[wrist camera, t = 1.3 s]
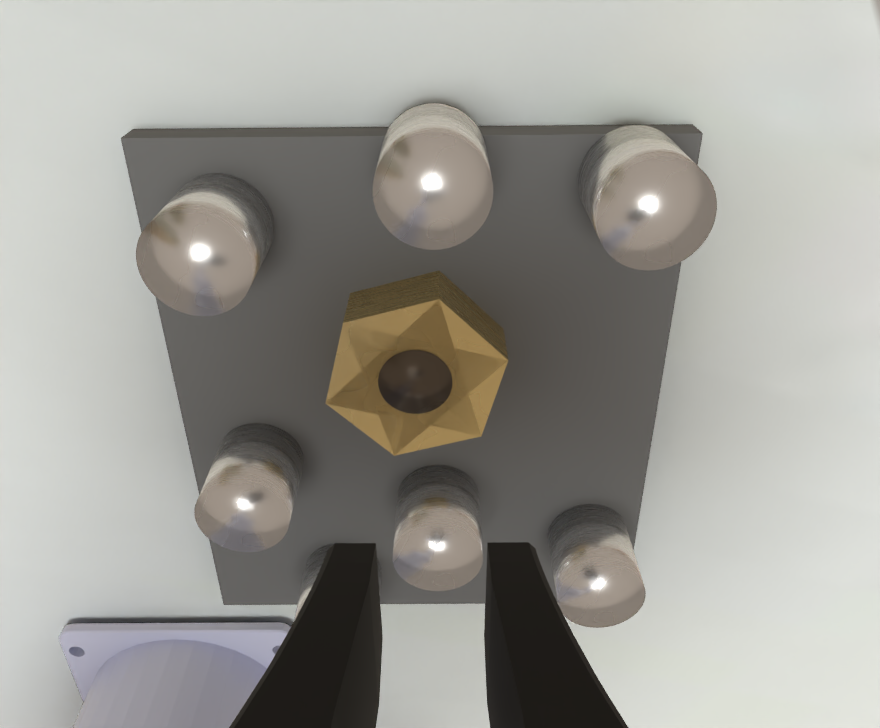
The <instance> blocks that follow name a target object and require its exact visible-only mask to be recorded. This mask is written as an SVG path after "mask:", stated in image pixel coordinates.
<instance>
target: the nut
mask: <svg viewBox="0 0 880 728" xmlns="http://www.w3.org/2000/svg"><path fill="white" fill-rule="evenodd" d="M507 363H508V355H507V348H506V342H505V335H504V329H503V328H502V327H501V326H500V325H499V324H498V323H497V322H496V321H495V320H493V319H492V318H491V317H490V316H489V315H488V314H487V313H486V312H485V311H483V310H482V309H481V308H480V307H479V306H478V305H477V304H476V303H475V302H474V301H472V300H471V299H470V298H469V297H468V296H467V295H466V294H465V293H464V292H463V291H461V290H460V289H459V288H458V287H457V286H456V285H455V284H454V283H453V282H451V281H450V280H449V279H448V278H447V277H446V276H445V275H444V274H443V273H442V272H440V271H435V272H431V273H427V274H423V275H419V276H415V277H411V278H408V279H404V280H400V281H396V282H392V283H388V284H384V285H380V286H376V287H372V288H368V289H364V290H360V291H357V292H353V293H350V295H349V300H348V304H347V308H346V313H345V317H344V321H343V326H342V330H341V335H340V339H339V344H338V348H337V353H336V358H335V362H334V367H333V371H332V376H331V380H330V385H329V390H328V394H327V399H326V404H327V405H328V406H330V407H331V408H332V409H333V410H335V411H336V412H337V413H339V414H340V415H341V416H343V417H344V418H345V419H347V420H348V421H349V422H351V423H352V424H353V425H355V426H356V427H357V428H358V429H360V430H361V431H362V432H364V433H365V434H366V435H368V436H369V437H370V438H372V439H373V440H374V441H376V442H377V443H378V444H379V445H381V446H382V447H383V448H385V449H386V450H387V451H389V452H390V453H391V454H393V455H394V456H395V455H400V454H404V453H409V452H413V451H418V450H422V449H427V448H431V447H436V446H440V445H445V444H449V443H454V442H458V441H463V440H467V439H472V438H476V437H481V436H482V433H483V430H484V428H485V425H486V422H487V419H488V416H489V413H490V411H491V408H492V405H493V402H494V399H495V397H496V394H497V391H498V388H499V385H500V382H501V380H502V377H503V374H504V371H505V368H506V365H507Z"/></svg>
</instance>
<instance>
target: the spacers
mask: <svg viewBox="0 0 880 728" xmlns="http://www.w3.org/2000/svg"><path fill="white" fill-rule="evenodd" d="M578 192H579V196H580V199H581V202H582V204H583V206H584V208H585V210H586V212H587V214H588V216H589V219H590V221H591V223H592V225H593V227H594V229H595V231H596V233H597V235H598V237H599V239H600V241H601V244H602V245H603V247H604V249H605V250H606V251H607V253H608V254H609V255H610V256H611V257H612V258H613V259H615V260H616V261H617V262H619V263H620V264H622V265H625V266H627V267H630V268H633V269H637V270H648V271H649V270H659V269H664V268H667V267H671V266H673V265H675V264H678V263H680V262H681V261H683V260H685V259H686V258H688V257H689V256H690V255H692V254H693V253H694V252H695V251H696V250H697V249H698V248H699V247H700V246H701V245H702V244H703V242H704V241H705V240H706V238H707V237H708V235H709V233H710V231H711V229H712V227H713V224H714V221H715V217H716V210H717V200H716V194H715V190H714V187H713V185H712V183H711V181H710V179H709V178H708V177H707V175H706V174H705V173H704V172H703V171H702V170H701V169H700V168H699V167H698V166H697V165H696V164H695V163H694V162H693V161H692V160H691V159H690V158H689V157H688V156H687V155H686V154H685V153H684V152H683V151H682V150H681V149H680V148H679V147H678V146H677V145H676V144H675V143H674V142H673V141H672V140H671V139H670V138H669V137H668V136H667V135H666V134H664V133H663V132H662V131H660V130H658V129H655V128H653V127H650V126H645V125H629V126H624V127H620V128H617V129H615V130H613V131H610V132H608V133H607V134H605V135H604V136H602V137H601V138H600V139H599V140H597V141H596V142H595V143H594V144H593V145H592V146H591V148H590V149H589V150H588V152H587V153H586V155H585V157H584V158H583V161H582V163H581V165H580V169H579V173H578ZM492 201H493V182H492V176H491V171H490V166H489V161H488V155H487V150H486V145H485V141H484V138H483V136H482V133H481V131H480V130H479V128H478V127H477V125H476V124H475V123H474V121H473V120H472V119H471V118H470V117H469V116H467V115H466V114H465V113H463V112H462V111H460V110H458V109H456V108H454V107H452V106H449V105H444V104H437V103H430V104H423V105H419V106H416V107H413V108H411V109H409V110H407V111H405V112H404V113H403V114H401V115H400V116H399V117H398V118H397V119H396V120H395V121H394V122H393V123H392V124H391V126H390V127H389V129H388V130H387V132H386V135H385V137H384V140H383V143H382V147H381V151H380V155H379V159H378V163H377V167H376V172H375V176H374V180H373V202H374V205H375V209H376V212H377V214H378V216H379V218H380V220H381V222H382V223H383V224H384V226H385V227H386V228H387V230H388V231H389V232H390V233H391V234H392V235H394V236H395V237H396V238H397V239H399V240H401V241H402V242H404V243H406V244H408V245H410V246H413V247H417V248H421V249H427V250H439V249H446V248H450V247H453V246H456V245H458V244H460V243H462V242H464V241H466V240H467V239H469V238H470V237H471V236H473V235H474V234H475V233H476V232H477V231H478V230H479V229H480V228H481V226H482V225H483V223H484V222H485V220H486V218H487V216H488V214H489V212H490V209H491V205H492ZM274 231H275V225H274V218H273V214H272V211H271V209H270V207H269V204H268V203H267V201H266V200H265V198H264V197H263V196H262V194H261V193H260V192H259V191H258V190H257V189H256V188H255V187H254V186H252V185H251V184H250V183H248V182H246V181H245V180H243V179H241V178H239V177H236V176H233V175H230V174H224V173H208V174H203V175H200V176H197V177H195V178H193V179H192V180H190V181H189V182H187V183H186V184H185V185H184V186H183V187H182V188H181V189H180V190H179V191H178V192H177V194H176V195H175V196H174V197H173V198H172V199H171V200H170V201H169V202H168V203H167V204H166V205H165V207H164V208H163V209H162V210H161V211H160V212H159V213H158V214H157V215H156V216H155V217H154V218H153V220H152V221H151V222H150V223H149V224H148V225H147V226H146V227H145V229H144V230H143V232H142V233H141V235H140V237H139V240H138V244H137V249H136V260H137V266H138V269H139V272H140V275H141V277H142V279H143V281H144V283H145V284H146V286H147V287H148V288H149V290H150V291H151V292H152V293H153V294H154V295H155V296H156V297H157V298H158V299H159V300H160V301H162V302H163V303H164V304H166V305H167V306H169V307H171V308H173V309H175V310H177V311H180V312H182V313H186V314H189V315H195V316H213V315H218V314H221V313H224V312H226V311H228V310H231V309H232V308H234V307H235V306H236V305H238V304H239V303H240V302H241V301H242V300H243V298H244V297H245V296H246V294H247V292H248V290H249V288H250V286H251V284H252V282H253V280H254V278H255V276H256V274H257V272H258V270H259V268H260V266H261V264H262V262H263V260H264V258H265V256H266V254H267V252H268V250H269V248H270V246H271V244H272V241H273V238H274ZM303 466H304V456H303V452H302V449H301V447H300V445H299V444H298V442H297V441H296V440H295V439H294V438H293V437H292V436H291V435H290V434H289V433H287V432H286V431H284V430H282V429H280V428H278V427H276V426H273V425H269V424H264V423H249V424H244V425H241V426H238V427H236V428H234V429H232V430H231V431H230V432H228V433H227V434H226V435H225V437H224V438H223V440H222V442H221V444H220V446H219V449H218V451H217V454H216V456H215V459H214V461H213V463H212V466H211V468H210V471H209V473H208V476H207V478H206V481H205V483H204V485H203V488H202V490H201V493H200V495H199V498H198V500H197V503H196V505H195V519H196V522H197V524H198V526H199V528H200V529H201V531H202V532H203V533H204V534H205V536H207V537H208V538H209V539H210V540H211V541H213V542H214V543H216V544H218V545H220V546H222V547H224V548H227V549H230V550H234V551H240V552H256V551H262V550H265V549H268V548H270V547H272V546H274V545H276V544H277V543H278V542H280V541H281V540H282V539H283V537H284V536H285V534H286V532H287V530H288V527H289V523H290V519H291V515H292V511H293V507H294V503H295V498H296V494H297V490H298V486H299V482H300V478H301V474H302V470H303ZM547 540H548V546H549V552H550V558H551V564H552V570H553V576H554V582H555V587H556V593H557V599H558V605H559V607H560V609H561V611H562V613H563V615H564V616H565V617H566V618H568V619H569V620H570V621H572V622H574V623H576V624H579V625H582V626H586V627H596V628H598V627H608V626H613V625H616V624H619V623H622V622H624V621H626V620H628V619H629V618H631V617H632V616H633V615H635V614H636V613H637V612H638V611H639V609H640V608H641V607H642V605H643V603H644V600H645V588H644V584H643V581H642V578H641V574H640V571H639V568H638V564H637V561H636V558H635V554H634V551H633V548H632V544H631V541H630V538H629V534H628V531H627V528H626V524H625V522H624V520H623V518H622V517H621V515H620V514H619V513H617V512H616V511H615V510H613V509H611V508H609V507H607V506H603V505H598V504H583V505H578V506H574V507H571V508H569V509H567V510H565V511H563V512H562V513H560V514H559V515H558V516H557V517H556V518H555V519H554V520H553V521H552V522H551V524H550V526H549V528H548V532H547ZM334 544H335V543H332V544H328V545H325V546H322V547H320V548H318V549H317V550H315V551H314V552H313V553H312V554H311V555H310V556H309V558H308V559H307V562H306V565H305V570H304V575H303V580H302V585H301V590H300V594H299V599H298V604H297V609H296V614H295V619H296V617H297V615H298V613H299V611H300V610H301V608H302V606H303V604H304V602H305V600H306V598H307V596H308V594H309V592H310V590H311V588H312V586H313V584H314V581H315V579H316V577H317V575H318V573H319V570H320V568H321V566H322V564H323V561H324V559H325V556H326V553H327V551H328V549H329V548H330V547H331V546H333V545H334ZM482 563H483V552H482V536H481V521H480V506H479V492H478V488H477V486H476V484H475V482H474V481H473V479H472V478H471V477H470V476H469V475H468V474H466V473H465V472H463V471H462V470H460V469H457V468H455V467H451V466H447V465H429V466H425V467H421V468H419V469H416V470H415V471H413V472H411V473H410V474H408V475H407V476H406V477H405V478H404V479H403V481H402V482H401V484H400V486H399V488H398V493H397V506H396V519H395V533H394V547H393V564H394V567H395V569H396V571H397V573H398V574H399V576H400V577H401V578H402V579H403V580H405V581H406V582H407V583H409V584H411V585H413V586H415V587H417V588H420V589H424V590H430V591H446V590H452V589H456V588H458V587H461V586H463V585H465V584H467V583H468V582H470V581H471V580H472V579H473V578H474V577H475V576H476V575H477V574H478V572H479V571H480V569H481V566H482ZM377 566H378V580H379V595H380V587H381V576H382V569H381V565H380V563H379V561H378V559H377ZM295 619H294V621H295Z"/></svg>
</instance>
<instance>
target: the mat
mask: <svg viewBox="0 0 880 728" xmlns="http://www.w3.org/2000/svg"><path fill="white" fill-rule="evenodd" d="M624 126H629V125H593V126H477V127H478V128H479V130H480V131H481V133H482V136H483V138H484V141H485V145H486V150H487V155H488V161H489V166H490V171H491V176H492V182H493V201H492V205H491V209H490V212H489V214H488V216H487V218H486V220H485V222H484V223H483V225H482V226H481V228H480V229H479V230H478V231H477V232H476V233H475V234H474V235H473V236H471V237H470V238H469V239H467V240H466V241H464V242H462V243H460V244H458V245H456V246H453V247H450V248H446V249H439V250H427V249H421V248H417V247H413V246H410V245H408V244H406V243H404V242H402V241H401V240H399V239H397V238H396V237H395V236H394V235H392V234H391V233H390V232H389V231H388V230H387V228H386V227H385V226H384V224H383V223H382V222H381V220H380V218H379V216H378V214H377V212H376V209H375V205H374V202H373V180H374V176H375V172H376V167H377V163H378V159H379V155H380V151H381V147H382V143H383V140H384V137H385V135H386V132H387V130H388V129H389V127H352V128H231V129H133V130H132V131H130V132H129V133H127V134H126V135H125V136H123V137H122V138H121V141H122V146H123V150H124V155H125V159H126V164H127V168H128V173H129V177H130V182H131V186H132V191H133V196H134V200H135V205H136V209H137V214H138V218H139V223H140V227H141V232H143V230H144V229H145V227H146V226H147V225H148V224H149V223H150V222H151V221H152V220H153V218H154V217H155V216H156V215H157V214H158V213H159V212H160V211H161V210H162V209H163V208H164V207H165V205H166V204H167V203H168V202H169V201H170V200H171V199H172V198H173V197H174V196H175V195H176V194H177V192H178V191H179V190H180V189H181V188H182V187H183V186H184V185H185V184H186V183H187V182H189V181H190V180H192V179H193V178H195V177H197V176H200V175H203V174H208V173H224V174H230V175H233V176H236V177H239V178H241V179H243V180H245V181H246V182H248V183H250V184H251V185H252V186H254V187H255V188H256V189H257V190H258V191H259V192H260V193H261V194H262V196H263V197H264V198H265V200H266V201H267V203H268V204H269V207H270V209H271V211H272V214H273V218H274V225H275V231H274V238H273V241H272V244H271V246H270V248H269V250H268V252H267V254H266V256H265V258H264V260H263V262H262V264H261V266H260V268H259V270H258V272H257V274H256V276H255V278H254V280H253V282H252V284H251V286H250V288H249V290H248V292H247V294H246V296H245V297H244V298H243V300H242V301H241V302H240V303H239V304H238V305H236V306H235V307H234V308H232V309H231V310H228V311H226V312H224V313H221V314H218V315H213V316H195V315H189V314H186V313H182V312H180V311H177V310H175V309H173V308H171V307H169V306H167V305H166V304H164V303H163V302H162V301H160V300H159V299H158V298H157V297H156V300H157V304H158V309H159V313H160V318H161V322H162V327H163V331H164V336H165V341H166V345H167V350H168V354H169V359H170V363H171V368H172V372H173V377H174V381H175V386H176V390H177V395H178V399H179V404H180V408H181V413H182V418H183V422H184V427H185V431H186V436H187V440H188V445H189V449H190V454H191V458H192V463H193V467H194V472H195V476H196V481H197V486H198V490H199V495H200V493H201V490H202V488H203V485H204V483H205V481H206V478H207V476H208V473H209V471H210V468H211V466H212V463H213V461H214V459H215V456H216V454H217V451H218V449H219V446H220V444H221V442H222V440H223V438H224V437H225V435H226V434H227V433H228V432H230V431H231V430H232V429H234V428H236V427H238V426H241V425H244V424H249V423H264V424H269V425H273V426H276V427H278V428H280V429H282V430H284V431H286V432H287V433H289V434H290V435H291V436H292V437H293V438H294V439H295V440H296V441H297V442H298V444H299V445H300V447H301V449H302V452H303V456H304V466H303V470H302V474H301V478H300V482H299V486H298V490H297V494H296V498H295V503H294V507H293V511H292V515H291V519H290V523H289V527H288V530H287V532H286V534H285V536H284V537H283V539H282V540H281V541H280V542H278V543H277V544H276V545H274V546H272V547H270V548H268V549H265V550H262V551H256V552H240V551H234V550H230V549H227V548H224V547H222V546H220V545H218V544H216V543H214V542H213V541H211V540H210V539H209V540H210V544H211V549H212V553H213V558H214V563H215V567H216V572H217V576H218V581H219V585H220V590H221V594H222V599H223V603H224V605H281V604H298V599H299V594H300V590H301V585H302V580H303V575H304V570H305V565H306V562H307V559H308V558H309V556H310V555H311V554H312V553H313V552H314V551H315V550H317V549H318V548H320V547H322V546H325V545H328V544H332V543H376V551H377V559H378V561H379V563H380V565H381V569H382V576H381V587H380V604H466V603H485V601H486V570H487V543H491V542H529V543H530V544H531V545H532V546H533V547H535V548H536V552H537V555H538V558H539V561H540V563H541V566H542V568H543V571H544V574H545V576H546V578H547V581H548V583H549V585H550V588H551V590H552V592H553V594H554V597H555V599H556V601H557V603H558V599H557V593H556V587H555V582H554V576H553V570H552V564H551V558H550V552H549V546H548V540H547V532H548V528H549V526H550V524H551V522H552V521H553V520H554V519H555V518H556V517H557V516H558V515H559V514H560V513H562V512H563V511H565V510H567V509H569V508H571V507H574V506H578V505H583V504H598V505H603V506H607V507H609V508H611V509H613V510H615V511H616V512H617V513H619V514H620V515H621V517H622V518H623V520H624V522H625V524H626V528H627V531H628V534H629V538H630V541H631V544H632V548H633V549H634V543H635V537H636V531H637V525H638V519H639V513H640V507H641V501H642V495H643V489H644V483H645V477H646V471H647V465H648V459H649V453H650V447H651V441H652V435H653V429H654V423H655V417H656V411H657V405H658V399H659V393H660V387H661V381H662V375H663V369H664V363H665V357H666V351H667V345H668V339H669V333H670V327H671V320H672V314H673V308H674V302H675V296H676V290H677V284H678V278H679V272H680V266H681V262H680V263H678V264H675V265H673V266H671V267H667V268H664V269H659V270H649V271H648V270H637V269H633V268H630V267H627V266H625V265H622V264H620V263H619V262H617V261H616V260H615V259H613V258H612V257H611V256H610V255H609V254H608V253H607V251H606V250H605V249H604V247H603V245H602V244H601V241H600V239H599V237H598V235H597V233H596V231H595V229H594V227H593V225H592V223H591V221H590V219H589V216H588V214H587V212H586V210H585V208H584V206H583V204H582V202H581V199H580V196H579V192H578V173H579V169H580V165H581V163H582V161H583V158H584V157H585V155H586V153H587V152H588V150H589V149H590V148H591V146H592V145H593V144H594V143H595V142H596V141H597V140H599V139H600V138H601V137H602V136H604V135H605V134H607V133H608V132H610V131H613V130H615V129H617V128H620V127H624ZM645 126H650V127H653V128H655V129H658V130H660V131H662V132H663V133H664V134H666V135H667V136H668V137H669V138H670V139H671V140H672V141H673V142H674V143H675V144H676V145H677V146H678V147H679V148H680V149H681V150H682V151H683V152H684V153H685V154H686V155H687V156H688V157H689V158H690V159H691V160H692V161H693V162H694V163H695V164H696V165H697V164H698V158H699V152H700V146H701V140H702V134H703V133H701V132H700V131H699V130H698V129H697V128H696V127H695V126H693V125H645ZM435 271H440V272H442V273H443V274H444V275H445V276H446V277H447V278H448V279H449V280H450V281H451V282H453V283H454V284H455V285H456V286H457V287H458V288H459V289H460V290H461V291H463V292H464V293H465V294H466V295H467V296H468V297H469V298H470V299H471V300H472V301H474V302H475V303H476V304H477V305H478V306H479V307H480V308H481V309H482V310H483V311H485V312H486V313H487V314H488V315H489V316H490V317H491V318H492V319H493V320H495V321H496V322H497V323H498V324H499V325H500V326H501V327H502V328H503V329H504V335H505V342H506V348H507V355H508V363H507V365H506V368H505V371H504V374H503V377H502V380H501V382H500V385H499V388H498V391H497V394H496V397H495V399H494V402H493V405H492V408H491V411H490V413H489V416H488V419H487V422H486V425H485V428H484V430H483V433H482V436H481V437H476V438H472V439H467V440H463V441H458V442H454V443H449V444H445V445H440V446H436V447H431V448H427V449H422V450H418V451H413V452H409V453H404V454H400V455H395V456H394V455H393V454H391V453H390V452H389V451H387V450H386V449H385V448H383V447H382V446H381V445H379V444H378V443H377V442H376V441H374V440H373V439H372V438H370V437H369V436H368V435H366V434H365V433H364V432H362V431H361V430H360V429H358V428H357V427H356V426H355V425H353V424H352V423H351V422H349V421H348V420H347V419H345V418H344V417H343V416H341V415H340V414H339V413H337V412H336V411H335V410H333V409H332V408H331V407H330V406H328V405H327V404H326V399H327V394H328V390H329V385H330V380H331V376H332V371H333V367H334V362H335V358H336V353H337V348H338V344H339V339H340V335H341V330H342V326H343V321H344V317H345V313H346V308H347V304H348V300H349V295H350V293H353V292H357V291H360V290H364V289H368V288H372V287H376V286H380V285H384V284H388V283H392V282H396V281H400V280H404V279H408V278H411V277H415V276H419V275H423V274H427V273H431V272H435ZM429 465H447V466H451V467H455V468H457V469H460V470H462V471H463V472H465V473H466V474H468V475H469V476H470V477H471V478H472V479H473V481H474V482H475V484H476V486H477V488H478V492H479V506H480V521H481V536H482V552H483V563H482V566H481V569H480V571H479V572H478V574H477V575H476V576H475V577H474V578H473V579H472V580H471V581H470V582H468V583H467V584H465V585H463V586H461V587H458V588H456V589H452V590H446V591H430V590H424V589H420V588H417V587H415V586H413V585H411V584H409V583H407V582H406V581H405V580H403V579H402V578H401V577H400V576H399V574H398V573H397V571H396V569H395V567H394V564H393V547H394V533H395V519H396V506H397V493H398V488H399V486H400V484H401V482H402V481H403V479H404V478H405V477H406V476H407V475H408V474H410V473H411V472H413V471H415V470H416V469H419V468H421V467H425V466H429Z"/></svg>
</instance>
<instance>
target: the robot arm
mask: <svg viewBox="0 0 880 728" xmlns="http://www.w3.org/2000/svg"><path fill="white" fill-rule="evenodd" d="M484 639H485V663H486V686H487V705H488V712H489V720H490V727H491V728H628V726H627V725H626V723H625V722H624V720H623V719H622V717H621V715H620V714H619V712H618V711H617V709H616V707H615V706H614V704H613V703H612V701H611V700H610V698H609V696H608V695H607V693H606V691H605V690H604V688H603V686H602V685H601V683H600V681H599V680H598V678H597V676H596V675H595V673H594V671H593V669H592V668H591V666H590V664H589V662H588V660H587V659H586V657H585V655H584V653H583V651H582V649H581V648H580V646H579V644H578V642H577V640H576V639H575V637H574V635H573V633H572V631H571V629H570V627H569V625H568V623H567V621H566V619H565V617H564V615H563V613H562V611H561V609H560V607H559V605H558V603H557V601H556V599H555V597H554V594H553V592H552V590H551V588H550V585H549V583H548V581H547V578H546V576H545V574H544V571H543V568H542V566H541V563H540V561H539V558H538V555H537V552H536V548H535V547H533V546H532V545H531V544H530V543H529V542H491V543H487V570H486V601H485V632H484ZM59 642H60V644H61V647H62V650H63V652H64V655H65V657H66V660H67V662H68V665H69V667H70V670H71V672H72V675H73V677H74V680H75V683H76V685H77V688H78V690H79V693H80V695H81V698H82V700H83V706H82V708H81V710H80V712H79V714H78V717H77V719H76V721H75V723H74V726H73V728H375V727H376V721H377V714H378V707H379V693H380V675H381V655H382V623H381V609H380V595H379V580H378V566H377V551H376V543H335V544H334V545H333V546H331V547H330V548H329V549H328V551H327V553H326V556H325V559H324V561H323V564H322V566H321V568H320V570H319V573H318V575H317V577H316V579H315V581H314V584H313V586H312V588H311V590H310V592H309V594H308V596H307V598H306V600H305V602H304V604H303V606H302V608H301V610H300V611H299V613H298V615H297V617H296V619H295V621H294V623H293V625H292V626H289V625H288V624H285V623H280V622H256V623H74V624H68V625H66V626H65V627H64V628H63V630H62V632H61V634H60V635H59ZM279 645H280V646H279Z"/></svg>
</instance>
